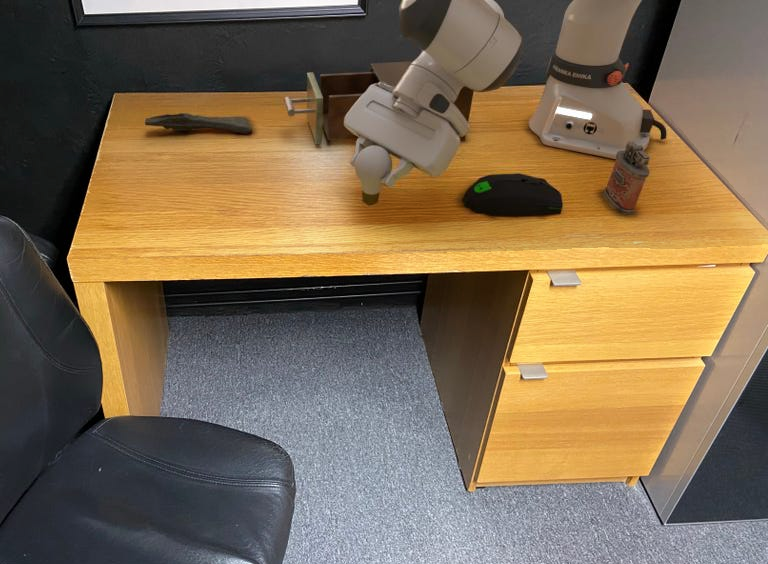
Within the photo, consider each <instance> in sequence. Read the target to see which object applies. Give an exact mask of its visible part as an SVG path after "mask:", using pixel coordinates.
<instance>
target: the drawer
mask: <svg viewBox="0 0 768 564" xmlns="http://www.w3.org/2000/svg"><path fill="white" fill-rule="evenodd" d="M375 83H379V82H378V81H377V79H376V77H375V75H374V73H373V72H370V71H362V72H361V71H360V72H342V73H341V72H340V73H322V74H320V80H319V84H318V81H317V79H316V76H315V73H314V72H313V71H312V72H306V97H302V98H301V97H300V98H299V97H298V98H291V96H285V98H284V100H283V101H284V105H285V109H286V112H287V115H288V116H289V117H292V118H293V117H294V116H295V115H299V114H306V119H307V121H308V125H309V127H310V131H311V135H312V137H313V140H314V144H315V145H322V143H323V129H324V132H325V134H326V138H327V141H334V140H335V141H336V140H350V139H352V140H353V139H358V138H359V137H357V136H356V135H354V134H352V133H351V132H350V131H349V130H348V129H347V128H346V127H345V126H344V118H345V116H346V114H347V113H348V112H349V110H350V109H351V108H352V106H353V105H354V104H355V103H356V101H357V100H358V99H359V98H360V97H361V96H362V95H363V93H365V92H366V91H367V89H368V88H369V86H370V85H372V84H375ZM377 87H378V86H377ZM298 103H299V104H300V103H306V108H301V109H300V108H299V109H295V106H294V104H298Z"/></svg>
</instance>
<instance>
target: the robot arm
mask: <svg viewBox="0 0 768 564" xmlns="http://www.w3.org/2000/svg"><path fill="white" fill-rule="evenodd" d="M642 1H643V0H572V1H571V2H570V4H568V6H567V8H566V10H565V12H564V16H563V20H562V24H561V28H560V32H559V35H558V40H557V44H556V48H555V49H554V50H553V52H552V54H551V57H550V60H549V62H548V66H547V71H546V76H545V77H546V78H545V81H546V83H545V86H544V89H543V91H542V94H541V97H540V99H539V101H538V103H537V106H536V108H535V110H534V112H533V113H532V115H531V117H530V119H529V121H528V127H529V129H530V130H531V131H532V132H533V133H534V134H535V135H537V136H538V137H539V139H540V141H541V143H542V144H543V145H545V146H549V147H553V148H559V149H563V150H567V151H572V152H579V153H583V154H588V155H594V156H597V157H598V156H599V157H603V158H608V159H613V160H616V154H617V152H618V151H625V149H626V145H627V142H634V143H636V144H637V145H642V146H643V151H644V152H645V150H646V149H647V148H648V146H649V143H650V139H651V138H650V135H651V134H650V133H651V130H652V129H653V127H655V128H657V129H658V130H659V132H660V140H666V139H667V132H668V131H667V127H666V126H665V125H664V124H663V123H661V122H660V121H659V120H656V119H655V117H654V115H653V112H652V110H651V109H644V108H643V105H642V104H641V103H640V101H639V99H637V98H636V97H635V96H634V94H632V92H631V91H630V89H629V88H628V87H627V86H626V85H625V83H624V82H623V81H624V78H625V75H626V72H627V70H628V67H629V65H630V63H629V62H626V64H624V63H623V61H622V60H621V59H620V53H621V51H622V48H623V47H622V46H623V44H624V41H625V39H626V35H627V33H628V30H629V27H630V25H631V23H632V20H633V17H634V15H635V13H636V11H637V9H638V7H639V6H640V4H641V3H642ZM398 13H399V16H398V17H399V18H398V19H399V26H400V31H401V34H402V37H403V39H404V40H406V41H407V42H408V43H410V44H412V45H413V46H414V47H416V48H418V49H419V50H421V52H420V54H419V56H417V58H415V59H414V60H413V62H412V63H411V65H410V66H409V67H408V69H407V70H406V72H405V73H404V75H403V76H402V78H401V80H400V81H399V83H398V84H397V86H396V87H394V86H390V85H388V84H387V83H385V82H379V83H375V84H372V85H370V86H369V88H368V89H367V91H366V92H365V93H363V95H362V96H361V97H360V98H359V99H358V100H357V101H356V103H355V104H354V105H353V106H352V108H351V109H350V110H349V112H348V113H347V114H346V116H345V118H344V126H345V127H346V128H347V129H348V130H349V131H350V132H351V133H352V134H354V135H356V136H357V137H359V138H356V139H357V140H356V141H355V147H354V154H353V156H352V157H351V159H350V160H349V165H350V166H352V168H353V169H355V160H356V157H357V155H358V154H359V152H360V151H361V150H363V149H364V148H366V147H369V146H380V147H382V148H384V149H385V150H386V151H387V152H388V153H389V154H390V156H392V157H394V158H396V159H398V160H399V161H398V163H397V164H398V167H396V168H395V169H392V170H391V172H390V173H389V172H387V171H386V173H385V174H384V176H383V177H382V178H381V182H382V183H383V185H384V186H385V187H387V188H388V189H392V188H394V185H396V182H398V180H401V179H402V178H404V177H405V176H408V175H409V174H410V173H412V171H413V169H414V168H415V169H417V170H418V171H421V172H422V173H424V174H426V175H428V176H430V177H431V178H436V177H439V176H441V175H442V174H443V173H444V172H445V171H446V170H447V168H448V167H449V165H450V164H451V163H452V161H453V159H454V158H455V156H456V154H457V153H458V151H459V148H460V146H461V141H460V137H463V136H464V135H467V134H468V133H469V131H470V129H471V125H470V124H469V121H468V122H467V120H466V119H465V117H464V116H463V114H462V113H461V112H460V111H459V109H458V108H457V106H456V105H455V104H454V102H455V100H456V99H457V97H458V94H459V92H460V90H461V88H462V87H464V86H466V87H468V88H470V89H471V90H473V91H474V92H476V93H487V92H491V91H496V90H499V89H500V88H502V87H503V86H504V85H505V84H506V83H507V82H508V80H510V78H511V77H512V76H513V74H514V72H515V71H516V70H517V68H518V66H519V65H520V63H521V60H522V55H523V51H524V49H523V48H524V41H523V37H522V35H520V33H519V32H518V30H517V29H516V27H514V26H513V25H512V23H510V22H509V21H508V20H507V19H506V18H505V14H504V11H503V9H502V8H501V6H500V5H499V4H498V3H497V1H496V0H401V2H400V4H399V9H398ZM377 86H378V87H377ZM459 136H460V137H459Z"/></svg>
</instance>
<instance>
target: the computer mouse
mask: <svg viewBox="0 0 768 564" xmlns="http://www.w3.org/2000/svg"><path fill="white" fill-rule="evenodd" d="M461 202H462V203H463V206H464V207H465V208H467V209H469V210H470V211H472V212H474V213H476V214H480V215H486V216H492V217H503V218H504V217H505V218H524V217H525V218H527V217H543V216H544V217H546V216H554V215H561V213H562V210H563V206H564V203H563V198H562V193H561V191H559V190H558V189H557V188H555V187H554V186H553V185H552V184H550V183H549V182H548V181H547V180H546V179H545V178H542V177H536V176H532V175H529V174H522V173H519V172H517V173H493V174H488V175H485V176H481V177H479V178H478V179H477V180H476V181H475V182H474V183H472V185H470V186H469V187H468V188H467V189H466V191H465V192H464V195H463V197H462V199H461Z"/></svg>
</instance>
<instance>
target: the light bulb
mask: <svg viewBox="0 0 768 564" xmlns="http://www.w3.org/2000/svg"><path fill="white" fill-rule="evenodd" d="M391 156H392V155H391V154H389V153H388V152H387V151H386V150H385V149H384V148H382V147H380V146H374V145H371V146H369V147H366V148H364V149H363V150H361V151H360V152H359V154H358V155H357V157H356V160H355V168H354V172H355V175H356V177H357V178H358V180H359V182H360V187H361V190H362V191H361V192H362V194H361V195H362V196H361V199H362V200H361V201H362V203H363V204H365V205H367V206H369V207H371V206H374V205H376V204H377V203H379V198H380V192H381V190H382V188H383V185H384V184H383V183H382V182H381V178H382V177H383V176H384V174H385V173H386V171H387V172H389V173H390V172H392V171H393V160H392V157H391Z"/></svg>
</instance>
